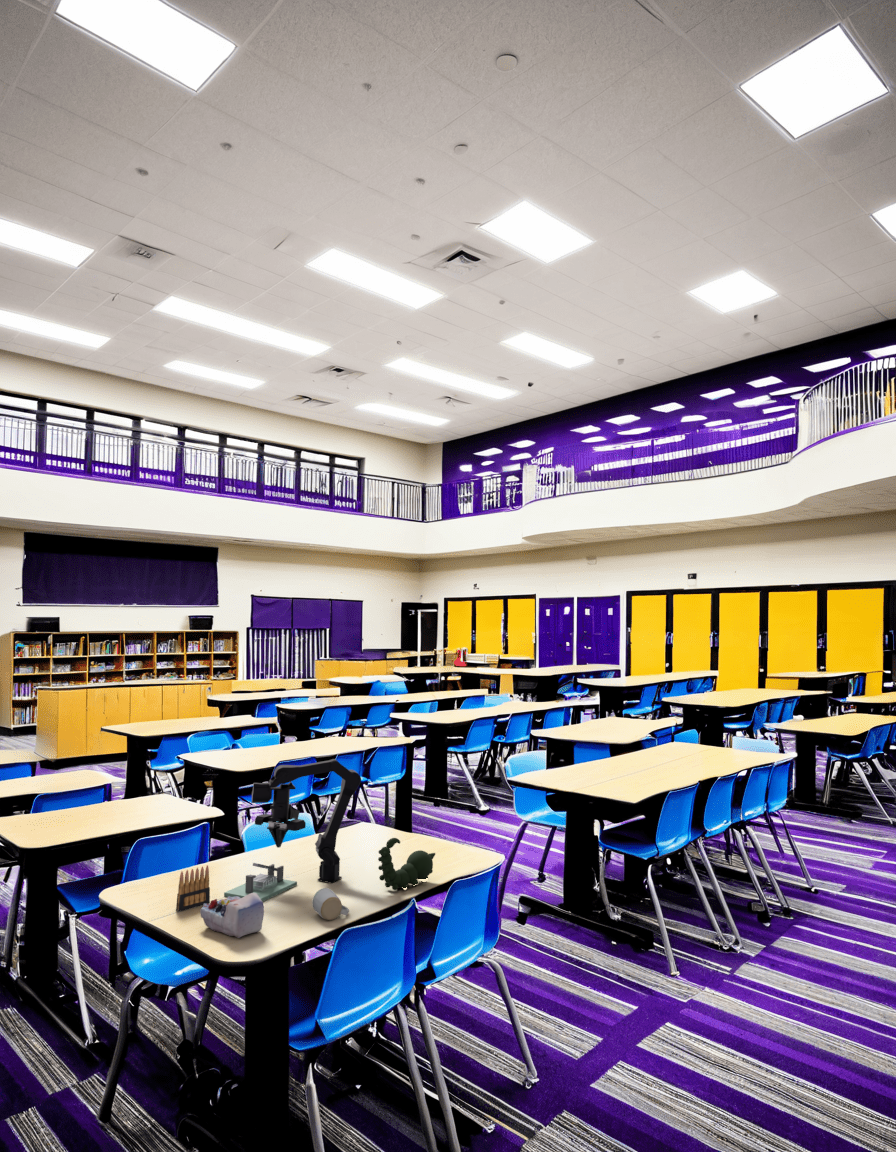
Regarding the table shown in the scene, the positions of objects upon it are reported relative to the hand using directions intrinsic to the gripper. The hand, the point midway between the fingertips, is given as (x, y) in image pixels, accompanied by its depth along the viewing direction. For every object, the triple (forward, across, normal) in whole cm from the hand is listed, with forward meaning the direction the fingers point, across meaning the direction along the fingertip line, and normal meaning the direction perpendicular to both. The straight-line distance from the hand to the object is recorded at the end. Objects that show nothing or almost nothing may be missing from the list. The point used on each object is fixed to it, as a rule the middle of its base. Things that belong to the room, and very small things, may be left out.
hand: (278, 847), depth 252 cm
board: (+13, 0, +7) cm, 15 cm away
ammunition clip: (+14, +9, +30) cm, 34 cm away
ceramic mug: (+13, -35, +16) cm, 40 cm away
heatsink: (+12, +1, +7) cm, 14 cm away
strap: (+6, +1, +6) cm, 8 cm away
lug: (+12, 0, +13) cm, 18 cm away
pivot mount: (+12, +1, 0) cm, 12 cm away
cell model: (+13, -15, +38) cm, 43 cm away
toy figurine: (+12, -42, -20) cm, 48 cm away
